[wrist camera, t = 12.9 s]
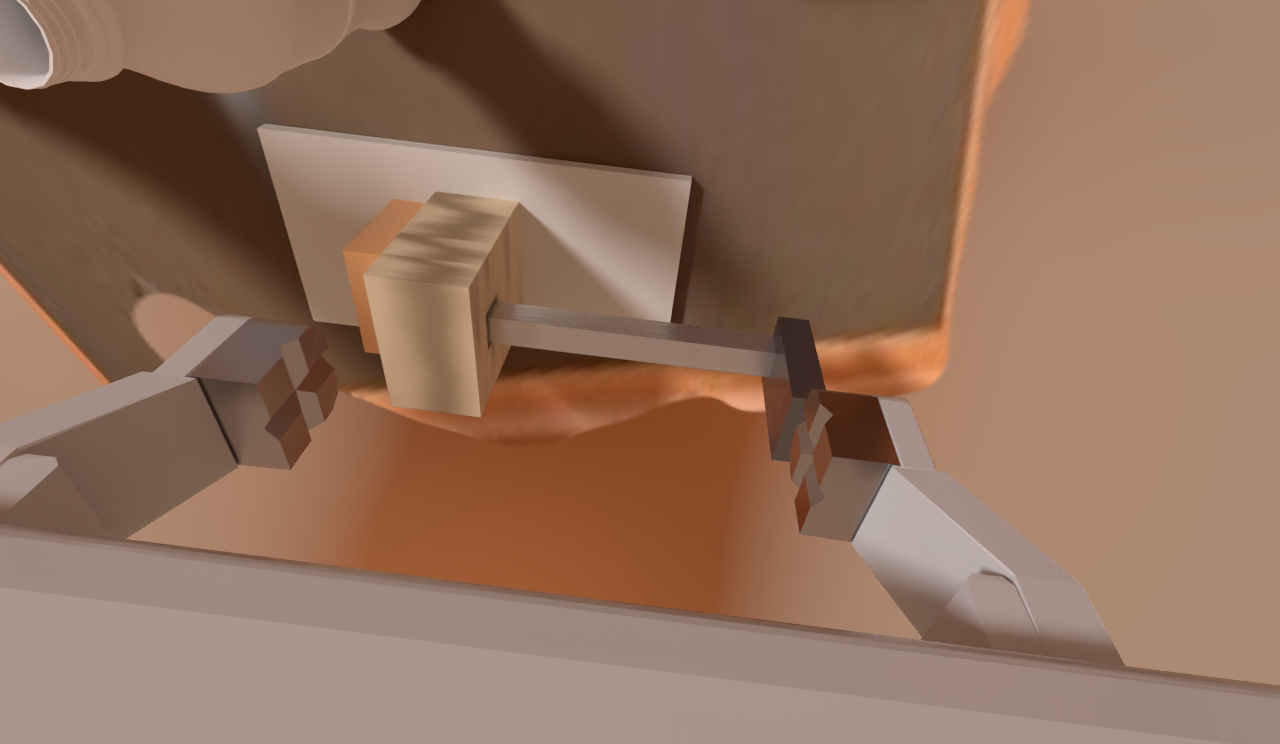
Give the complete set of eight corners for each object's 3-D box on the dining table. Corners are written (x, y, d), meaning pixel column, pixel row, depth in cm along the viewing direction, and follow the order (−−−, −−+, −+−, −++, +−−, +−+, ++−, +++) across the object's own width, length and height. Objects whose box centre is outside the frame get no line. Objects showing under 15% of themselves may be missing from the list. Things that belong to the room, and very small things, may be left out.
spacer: (407, 292, 49) (364, 352, 43) (393, 199, 44) (342, 250, 38) (444, 297, 49) (407, 357, 43) (434, 204, 44) (390, 256, 38)
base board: (319, 314, 53) (313, 320, 52) (265, 123, 43) (257, 128, 42) (664, 357, 53) (663, 364, 52) (691, 176, 43) (691, 181, 42)
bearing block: (449, 308, 50) (391, 406, 41) (435, 191, 44) (362, 274, 34) (522, 317, 50) (480, 417, 41) (518, 201, 44) (468, 288, 34)
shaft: (450, 337, 43) (407, 414, 37) (442, 275, 40) (394, 347, 34) (790, 379, 43) (804, 463, 37) (808, 320, 40) (828, 401, 34)
